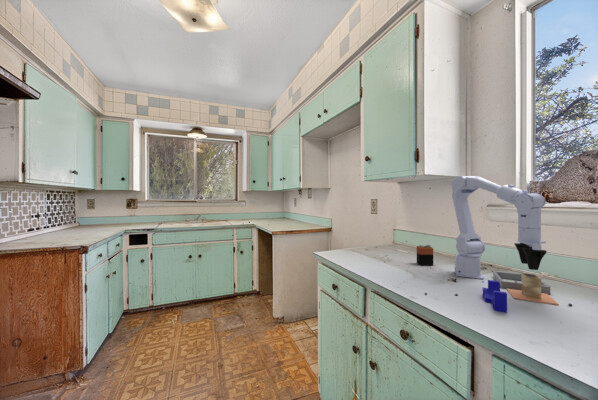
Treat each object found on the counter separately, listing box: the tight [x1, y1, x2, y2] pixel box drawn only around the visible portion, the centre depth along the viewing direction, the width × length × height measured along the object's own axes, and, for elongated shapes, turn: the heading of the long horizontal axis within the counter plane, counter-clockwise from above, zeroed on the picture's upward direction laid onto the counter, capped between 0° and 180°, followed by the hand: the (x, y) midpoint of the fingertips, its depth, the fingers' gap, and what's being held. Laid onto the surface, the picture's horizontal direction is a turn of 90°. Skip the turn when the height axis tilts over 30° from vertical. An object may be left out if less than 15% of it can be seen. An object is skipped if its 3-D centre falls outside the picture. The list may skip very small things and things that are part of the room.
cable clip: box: [482, 279, 508, 314], centre depth 79 cm, size 12×4×6 cm, turn 149°
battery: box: [416, 244, 434, 267], centre depth 123 cm, size 4×7×10 cm, turn 83°
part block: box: [520, 272, 542, 299], centre depth 83 cm, size 4×4×7 cm
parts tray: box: [492, 270, 551, 295], centre depth 94 cm, size 14×14×2 cm
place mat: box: [505, 288, 560, 306], centre depth 83 cm, size 11×9×1 cm
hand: (529, 266), depth 84 cm, fingers open, 7 cm apart
